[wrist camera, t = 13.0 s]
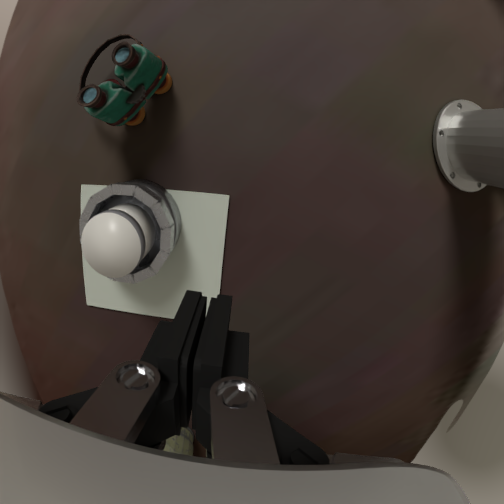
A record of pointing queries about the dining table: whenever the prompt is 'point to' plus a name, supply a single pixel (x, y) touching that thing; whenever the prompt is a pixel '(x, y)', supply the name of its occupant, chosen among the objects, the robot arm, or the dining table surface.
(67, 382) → the dining table surface
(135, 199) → the grey ring
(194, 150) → the dining table surface
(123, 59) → the binoculars
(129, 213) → the cap
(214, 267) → the mat
